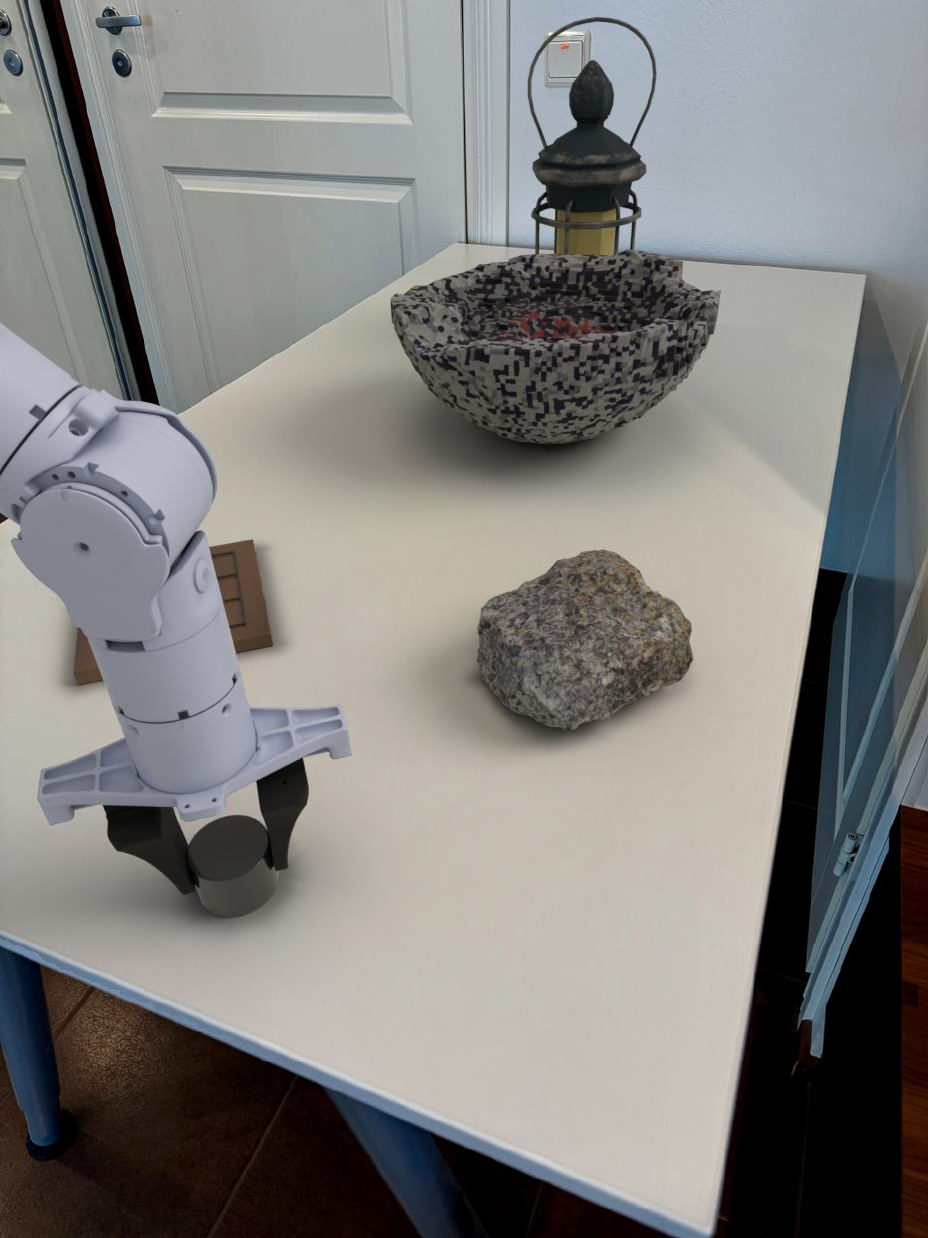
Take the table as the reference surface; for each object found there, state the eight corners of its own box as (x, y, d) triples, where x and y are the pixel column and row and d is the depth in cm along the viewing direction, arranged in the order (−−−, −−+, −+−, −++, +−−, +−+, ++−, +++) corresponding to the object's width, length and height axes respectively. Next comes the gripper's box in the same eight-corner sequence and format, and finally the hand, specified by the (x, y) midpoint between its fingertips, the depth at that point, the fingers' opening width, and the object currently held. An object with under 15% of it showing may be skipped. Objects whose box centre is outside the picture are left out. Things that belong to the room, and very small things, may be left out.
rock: (545, 766, 55) (720, 683, 61) (551, 690, 51) (738, 609, 57) (444, 655, 64) (606, 592, 70) (442, 583, 60) (615, 522, 66)
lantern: (626, 321, 120) (649, 9, 99) (645, 356, 109) (675, 16, 88) (522, 326, 120) (522, 15, 99) (530, 362, 109) (533, 22, 88)
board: (77, 685, 63) (71, 671, 62) (87, 580, 74) (82, 566, 73) (273, 645, 66) (270, 631, 65) (255, 550, 77) (252, 536, 76)
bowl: (712, 383, 102) (731, 247, 93) (681, 518, 78) (703, 353, 69) (456, 361, 110) (450, 235, 101) (357, 478, 86) (339, 326, 77)
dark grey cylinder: (201, 926, 47) (187, 890, 45) (197, 862, 50) (184, 825, 48) (283, 905, 48) (273, 868, 46) (274, 843, 51) (265, 806, 49)
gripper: (-7, 780, 35) (91, 968, 43) (348, 702, 38) (378, 892, 46) (13, 671, 41) (97, 857, 49) (323, 610, 44) (354, 795, 52)
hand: (233, 867), depth 48 cm, fingers closed on dark grey cylinder, 4 cm apart
